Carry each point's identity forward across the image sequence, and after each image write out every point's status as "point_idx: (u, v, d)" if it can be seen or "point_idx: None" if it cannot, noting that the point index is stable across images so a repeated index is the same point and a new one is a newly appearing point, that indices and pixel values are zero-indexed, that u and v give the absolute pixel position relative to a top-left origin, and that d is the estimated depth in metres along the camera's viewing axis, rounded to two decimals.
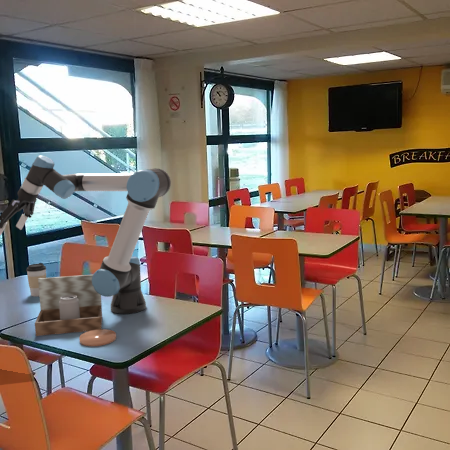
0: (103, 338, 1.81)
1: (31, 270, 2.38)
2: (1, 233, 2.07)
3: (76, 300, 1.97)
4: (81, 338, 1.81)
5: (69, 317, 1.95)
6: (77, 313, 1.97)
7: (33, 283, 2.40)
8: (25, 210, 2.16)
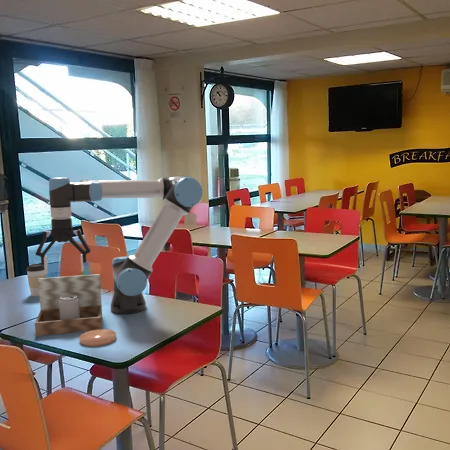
0: (103, 338, 1.81)
1: (31, 270, 2.38)
2: None
3: (76, 300, 1.97)
4: (81, 338, 1.81)
5: (69, 317, 1.95)
6: (77, 313, 1.97)
7: (33, 283, 2.40)
8: (50, 247, 1.94)
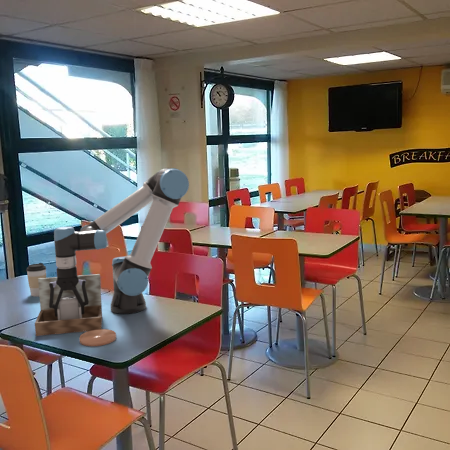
0: (103, 338, 1.81)
1: (31, 270, 2.38)
2: None
3: (76, 300, 1.97)
4: (81, 338, 1.81)
5: (69, 317, 1.95)
6: (77, 313, 1.97)
7: (33, 283, 2.40)
8: (60, 297, 1.97)
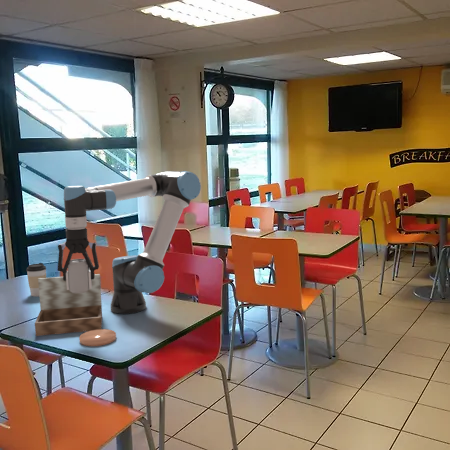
0: (103, 338, 1.81)
1: (31, 270, 2.38)
2: None
3: (85, 264, 1.86)
4: (81, 338, 1.81)
5: (78, 281, 1.85)
6: (86, 278, 1.86)
7: (33, 283, 2.40)
8: None
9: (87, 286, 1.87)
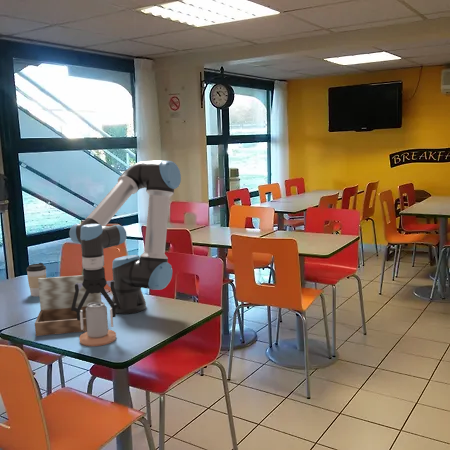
0: (103, 338, 1.81)
1: (31, 270, 2.38)
2: None
3: (104, 308, 1.81)
4: (81, 338, 1.81)
5: (97, 326, 1.80)
6: (105, 322, 1.82)
7: (33, 283, 2.40)
8: None
9: (106, 330, 1.82)
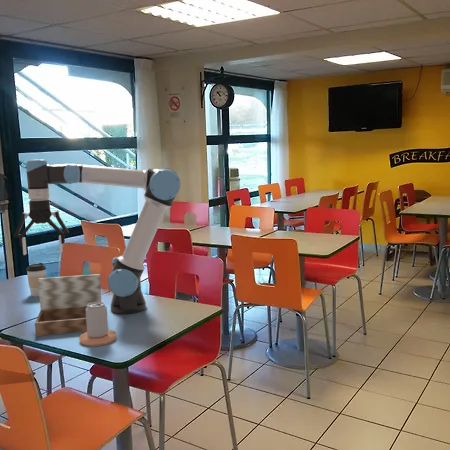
0: (103, 338, 1.81)
1: (31, 270, 2.38)
2: None
3: (104, 308, 1.81)
4: (81, 338, 1.81)
5: (97, 326, 1.80)
6: (105, 322, 1.82)
7: (33, 283, 2.40)
8: (28, 229, 1.96)
9: (106, 330, 1.82)
